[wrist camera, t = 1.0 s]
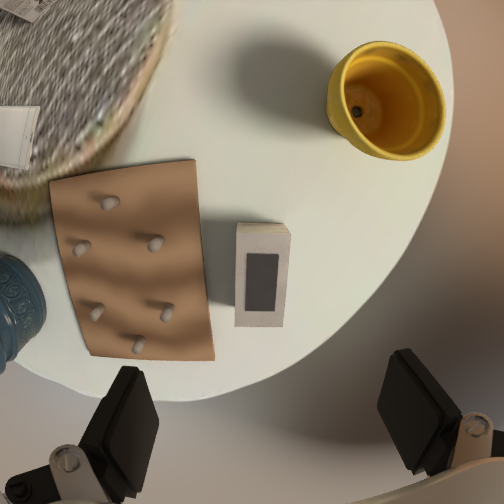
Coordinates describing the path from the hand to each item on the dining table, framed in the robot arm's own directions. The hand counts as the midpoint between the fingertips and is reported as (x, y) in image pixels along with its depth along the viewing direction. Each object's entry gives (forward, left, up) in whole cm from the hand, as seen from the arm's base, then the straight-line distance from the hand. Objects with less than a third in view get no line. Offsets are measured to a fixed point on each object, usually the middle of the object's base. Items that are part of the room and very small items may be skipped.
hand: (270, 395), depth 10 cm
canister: (+7, -35, -23) cm, 43 cm away
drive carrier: (+4, +1, -23) cm, 23 cm away
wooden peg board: (+4, -14, -23) cm, 27 cm away
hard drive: (-16, -32, -23) cm, 43 cm away
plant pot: (-13, +12, -23) cm, 29 cm away
